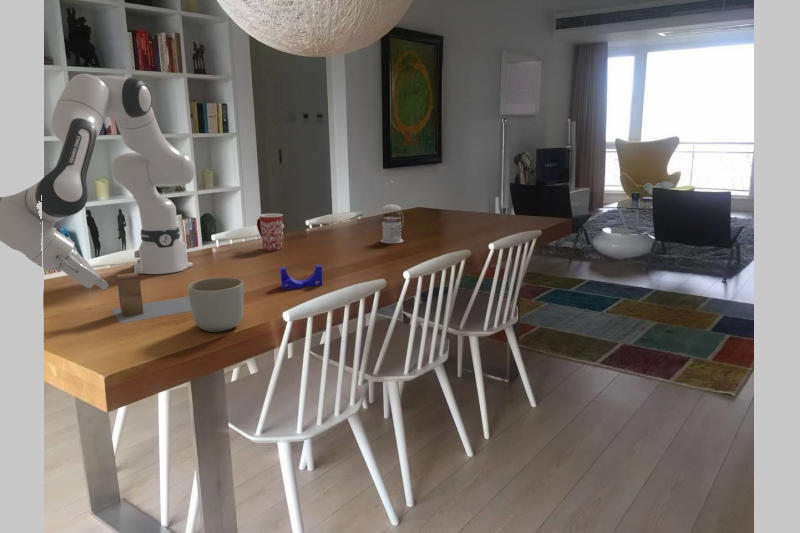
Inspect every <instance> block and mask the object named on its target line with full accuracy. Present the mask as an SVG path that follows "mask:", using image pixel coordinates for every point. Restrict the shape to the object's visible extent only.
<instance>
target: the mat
mask: <svg viewBox="0 0 800 533" xmlns="http://www.w3.org/2000/svg"><path fill="white" fill-rule="evenodd" d="M142 304H143V313H144V314H139V315H134V316H128V317H124V316H123V314H122V313H121V307H115V308H111V309H110V311H111V312H112V313H113V315H114V316H115V318H116V319H117V320H118V322H119V323H120V324H126V323H131V322H137V321H141V320H142V321H144V320H147V319H154V318H155V319H156V318H159V317H165V316H170V315H175V314H181V313H189V312H192V309H191V304H190V298H189V295H188V296H183V297H178V298H172V299H171V298H169V299H164V300H160V301H153V302H147V303H142Z"/></svg>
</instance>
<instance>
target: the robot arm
mask: <svg viewBox="0 0 800 533" xmlns="http://www.w3.org/2000/svg"><path fill="white" fill-rule="evenodd" d="M152 101H153V100H152V93H151V89H150V87H149V86H148V85H147V84H146V82H145V81H143V80H141V79H139V78H134V77H123V76H119V75H108V74H107V75H93V74H90V73H79V74H77V75H74V76H73V77H72V78H70V80H69V81H68V82H67V84H66V86H65V87H64V89H63V90H62V92H61V94H60V96H59V98H58V100H57V101H56V105H55V107H54V110H53V112H52V116H51V121H50V122H51V123H50V124H51V125H50V128H51V131H52V133H53V134H54V136H55V137H56V138H57V139H59V141H61V142H62V146H61V149H60V152H59V154H58V158H57V161H56V165H55V167H54V168H53V169H52V170H51V171H49V173H47V174H46V175H45V176H44V177H42V178H41V179H40V180H39V181H38V182H36V183H35V184H33V185H32V186H30V187H28V188H26V189H24V190H22V191H19V192H17V193H14V194H12V195H7V196H0V242H2V243H3V244H4V245H6V246H7V247H9V248H10V249H12V250H15V251H17V252H19V253H21V254H23V255H24V256H26V258H27V259H28V260H29V261H31V262H33V263H34V264H36V265H37V266H39V267H41V268H42V251H41V247H42V246H41V242H42V241H41V239H42V238H41V237H42V235H41V234H42V221H43V268H42V269H43V270H44V271H47V272H49V273H50V272H53V271H54V270H56V271H57V272H58V273H59V272H64V273H65V275H67V276H69V277H70V278H72V279H73V280H75V281H76V282H78V283H79V284H80V285H82V286H83V287H85V288H87V289H92V288H93V287H94V286H97V287H99V288H100V289H102V290H107V289H108V287H109V283H108V282H107V280H105V279H103V278H102V277H101V276H99V274H98V273H97V272H96V270H95V269H94V268H93V267H92V266H91V264H90V263H89V261H87V260H86V259H85V258H84V257H83V256H82V255H81V254H79V252H78V250H77V249H75V248H74V247H75V241H73V240H71V238H69V237H67V236H66V235H64V234H63V233H61V232H60V231H58V229H55V225H56V223H57V222H60V221H62V220H64V219H65V218H67V217H71V216H73V215H76V214H77V213H79V212H81V211H82V210H83V209H84V208H85V206H86V205H87V201H88V194H89V193H88V186H87V175H88V174H87V173H88V170H89V167H90V163H91V160H92V155H93V153H94V148H95V145H96V142H97V139H98V137H99V135H100V132H101V130H102V128H103V125H104V123H105V119H106V118H114V121H115V123H116V126H117V128H118V131H119V133H120V135H121V138H122V140H123V143H124V144H125V146H126V147H127V148H128V149H129V150H131V151H133V152H129V153H128V152H126V153H122V154H118V155H117V156H115V158H114V159H113V161H112V164H111V172H112V173H111V174H112V176H113V179H114V180H115V181H116V182H117V183H118V184H119V185H121V187H123V188H125V189H126V190H127V191H128V192H129V193H130V195H132V197H133V198H134V200H135V202H136V205H137V207H138V211H139V217H140V223H141V224H140V225H141V229H140V240H141V243H140V245H139V248H138V250H137V249H136V251H134V253H133V254H134V259H137V261H134V263H133V266H134V267H133V273H137V274H138V275H139V274H142V275H143V274H147V275H162V274H163V275H164V274H171V273H172V274H173V273H177V272H181V271H184V270H186V269H189V268H191V267H193V266H194V264H193V262H191V261H188V253H187V247H186V243H185V242H184V241H183V240H181V231H180V227H179V226H178V218H177V206H176V205H175V204H174V202H173V201H172V200H171V199H169V198H167V197H164V196H163V195H161V194H160V193H159V191H158V190H157V187H178V186H182V185H187V184H191V182H192V181H193V180H194V179H193V178H194V177H195V175H196V166H195V163H194V160H193V159H192V158H191V157H190V156H189V155H188V154H186V153H185V152H182V151H180V150H179V149H177V148H176V147H175V146H173V145H172V144H171V143H170V142H169V141H168V140H167V138H166V137H164V135H163V132H162V131H161V128H160V127H159V126H160V125H159V124H158V121H157V117H156V116H155V112H154V110H153V108H152V103H153V102H152ZM41 195H42V201H41ZM38 201H40V202H42V219H40V216H39V213H38V211H39V209H37V207H36V206H37V203H39V202H38ZM40 223H41V224H40Z"/></svg>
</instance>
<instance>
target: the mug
mask: <svg viewBox="0 0 800 533" xmlns="http://www.w3.org/2000/svg"><path fill="white" fill-rule="evenodd" d="M283 217H284V215H283V214H282V213H276V212H275V213H274V212H273V213H262V214H259V216H258V218H257V219H256V227H257V231H258V233H259V236H260V238H261V240H262V249H263V250H264V251H266V252H267V251H269V252H274V251H276V252H277V251H280V250H282V249H283Z"/></svg>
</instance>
